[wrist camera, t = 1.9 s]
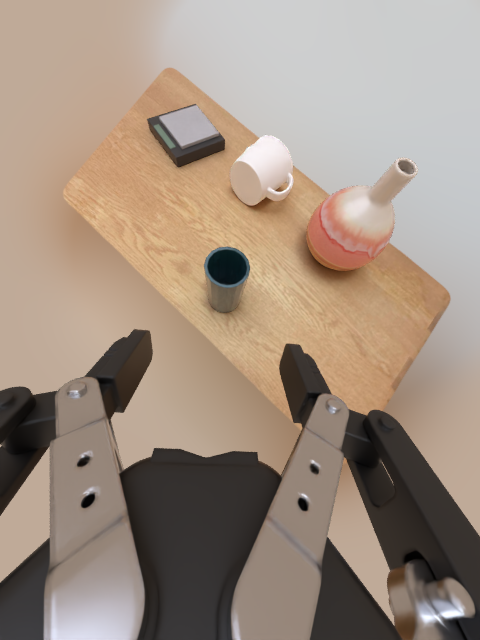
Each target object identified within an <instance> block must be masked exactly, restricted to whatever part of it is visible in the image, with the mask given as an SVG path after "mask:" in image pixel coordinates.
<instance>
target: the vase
mask: <svg viewBox="0 0 480 640" xmlns="http://www.w3.org/2000/svg"><path fill="white" fill-rule="evenodd" d="M417 172H418V168H417V166H416V164H415V163H414V162H413V161H412V160H410V159H408V158H399V159H397V160H396V161H395V162H394V163H393V164H392V165H391V167H390V168H389V169H388V170H387V171H386V172H385V173H384V174H383V176H382V177H381V178H380V179H379V180H378V181H377V182H376V184H375V185H374V186H373V187H372V186H352V187H347V188H344V189H341V190H339V191H337V192H335V193H333V194H332V195H330V196H329V197H328V198H326V199H325V200H324V201H323V202H322V203H321V204H320V205H319V206H318V207H317V209H316V210H315V211H314V213H313V214H312V216H311V218H310V220H309V223H308V226H307V232H306V238H307V244H308V248H309V250H310V252H311V254H312V255H313V257H314V258H315V259H316V260H317V261H318V262H319V263H320V264H322V265H324V266H325V267H328V268H330V269H334V270H340V271H347V270H353V269H357V268H360V267H362V266H364V265H366V264H368V263H369V262H371V261H372V260H374V259H375V258H376V257H377V256H378V255H379V254H380V253H381V252H382V251H383V249H384V248H385V247H386V245H387V244H388V242H389V240H390V238H391V236H392V233H393V229H394V224H395V214H394V208H393V205H392V202H391V200H392V199H393V198H394V197H395V196H396V195H397V194H398V193H399V192H400V191H401V190H402V189H403V188H404V187H405V186H406V185H407V184H408V183H409V182H410V181H411V180H412V179H413V178H414V177H415V176H416V174H417Z"/></svg>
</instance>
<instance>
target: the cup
mask: <svg viewBox="0 0 480 640" xmlns="http://www.w3.org/2000/svg"><path fill="white" fill-rule="evenodd" d="M204 269H205V277H206V285H207V293H208V300H209V303H210V305H211V306H212V308H214V309H215V310H216V311H219V312H223V313H227V312H231V311H233V310H234V309H236V308H237V306H238V305H239V303H240V300H241V297H242V294H243V291H244V288H245V285H246V282H247V279H248V276H249V271H250V265H249V261H248V259H247V258H246V256H245V255H244V254H243V253H242V252H240V251H239V250H237V249H236V248H231V247H220V248H217V249H215V250H213V251H212V252H211V253H210V254H209V255H208V256H207V258H206V260H205V264H204Z"/></svg>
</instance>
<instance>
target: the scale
mask: <svg viewBox="0 0 480 640" xmlns="http://www.w3.org/2000/svg"><path fill="white" fill-rule="evenodd" d="M147 121H148V124H149V128H150V130H151V132H152V133H153V134H154V136H155V137H156V139H157V140H158V141H159V143H160V144H161V145H162V147H163V148H164V149H165V151H166V152H167V153H168V155H169V156H170V157H171V159H172V160H173V161H174V163H175V164H176V165H177V167H180V166H183V165H185V164H188V163H190V162H193V161H195V160H198V159H201V158H203V157H206V156H208V155H211V154H213V153H216V152H219V151H221V150H224V149H225V139H224V138H223V137H222V135H221V134H220V133H219V132H218V131H217V129H216V128H215V127H214V126H213V124H212V123H211V122H210V121H209V120H208V118H207V117H206V116H205V115H204V113H203V112H202V111H201V110H200V109H199V107H198V106H197V105H196V104H194V105H191V106H187V107H184V108H181V109H178V110H175V111H171V112H168V113H165V114H162V115H159V116H155V117H152V118H149V119H147Z"/></svg>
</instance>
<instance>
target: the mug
mask: <svg viewBox="0 0 480 640" xmlns="http://www.w3.org/2000/svg"><path fill="white" fill-rule="evenodd" d="M292 172H293V163H292V158H291V155H290V153H289V151H288V149H287V148H286V146H285V145H284V144H283V143H282V142H281V141H280V140H279V139H277V138H275V137H273V136H269V135H266V136H262V137H261V138H259V139H258V140H257V141H256V143H255V144H254V145H252V144H251V146H250V147H247V148H246V150H245V152H244V153H243V154H242V155H241V156H240V157H239V158H238V159H237V160H236V161H235V162H234V163H233V165H232V166H231V168H230V182H231V186H232V188H233V190H234V192H235V194H236V195H237V197H238V198H239V199H240V200H241V201H242V202H244V203H245V204H247V205H256V204H258V203H259V202H260V201H262V200H263V199H264V198H266V197H267V198H269V199H271V200H273V201H281V200H283V199H285V198H286V197H287V196H288V194H289V193H290V191H291V188H292V186H293V177H292ZM285 183H287V185H288V187H287V189H286V190H284V191H282V192H277V191H275V190H276V189H278V188H279V187H280V186H282V185H283V184H285Z"/></svg>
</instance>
